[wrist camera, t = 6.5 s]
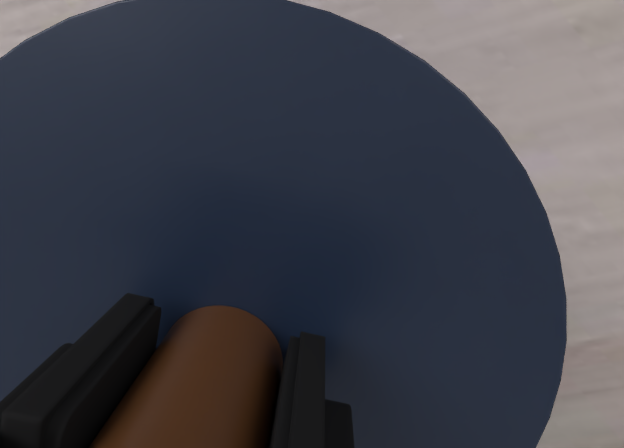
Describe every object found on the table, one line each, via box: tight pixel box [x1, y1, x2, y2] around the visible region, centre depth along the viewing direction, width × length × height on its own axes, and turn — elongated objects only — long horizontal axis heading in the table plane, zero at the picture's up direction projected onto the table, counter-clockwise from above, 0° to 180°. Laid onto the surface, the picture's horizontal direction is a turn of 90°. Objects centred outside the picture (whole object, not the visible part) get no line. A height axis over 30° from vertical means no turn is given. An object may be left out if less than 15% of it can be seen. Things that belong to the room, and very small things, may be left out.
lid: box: [0, 0, 567, 448], centre depth 8 cm, size 16×16×7 cm
